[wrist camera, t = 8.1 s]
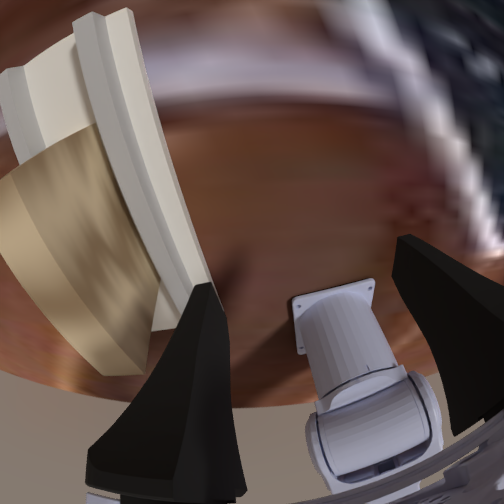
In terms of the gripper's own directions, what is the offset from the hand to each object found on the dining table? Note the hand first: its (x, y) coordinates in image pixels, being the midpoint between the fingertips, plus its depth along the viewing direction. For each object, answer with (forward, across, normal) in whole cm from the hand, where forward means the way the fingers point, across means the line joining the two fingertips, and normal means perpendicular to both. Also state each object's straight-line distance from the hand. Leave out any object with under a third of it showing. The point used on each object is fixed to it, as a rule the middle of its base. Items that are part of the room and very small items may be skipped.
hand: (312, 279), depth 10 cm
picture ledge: (+9, +11, -2) cm, 14 cm away
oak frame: (+8, +11, -1) cm, 13 cm away
